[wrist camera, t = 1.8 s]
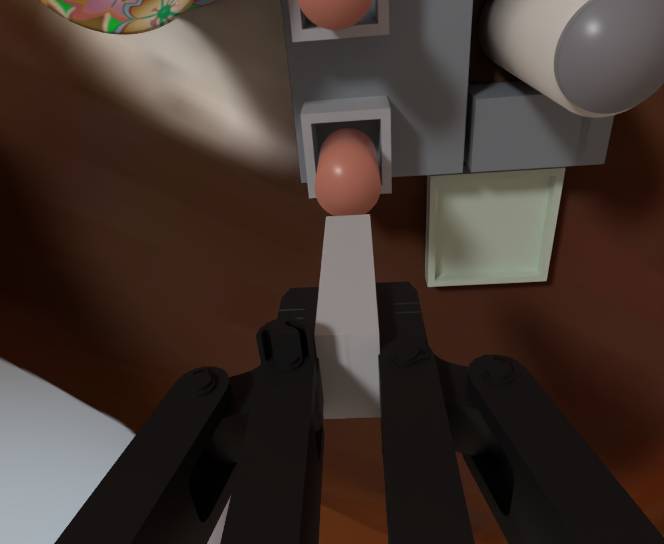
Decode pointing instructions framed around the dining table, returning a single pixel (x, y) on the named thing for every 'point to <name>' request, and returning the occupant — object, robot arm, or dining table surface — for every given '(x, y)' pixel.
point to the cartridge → (579, 49)
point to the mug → (122, 13)
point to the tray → (491, 225)
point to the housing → (423, 97)
